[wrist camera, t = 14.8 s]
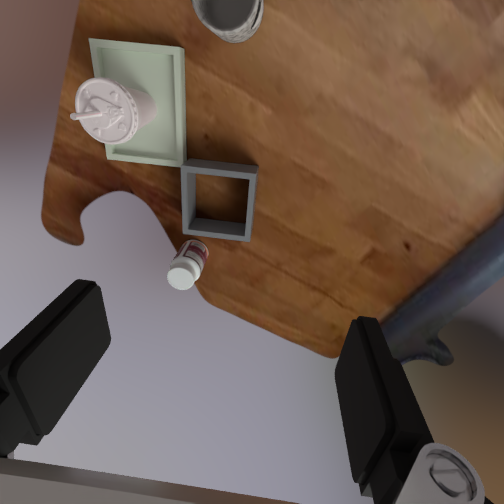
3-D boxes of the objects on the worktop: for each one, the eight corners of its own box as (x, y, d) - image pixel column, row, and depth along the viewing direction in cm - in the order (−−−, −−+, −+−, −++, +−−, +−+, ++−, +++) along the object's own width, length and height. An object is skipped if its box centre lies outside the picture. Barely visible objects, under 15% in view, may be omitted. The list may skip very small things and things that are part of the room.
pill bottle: (187, 265, 51) (172, 294, 44) (177, 242, 49) (158, 268, 42) (212, 260, 50) (201, 289, 43) (203, 236, 48) (189, 262, 41)
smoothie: (113, 81, 37) (31, 78, 25) (161, 77, 37) (101, 72, 25) (127, 134, 40) (60, 154, 28) (171, 132, 40) (122, 151, 28)
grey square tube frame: (190, 158, 42) (180, 165, 38) (258, 165, 42) (256, 174, 38) (191, 221, 47) (182, 233, 43) (252, 229, 47) (249, 241, 43)
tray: (97, 40, 36) (88, 38, 34) (184, 48, 36) (179, 47, 34) (113, 156, 43) (107, 159, 41) (186, 164, 43) (183, 167, 41)
